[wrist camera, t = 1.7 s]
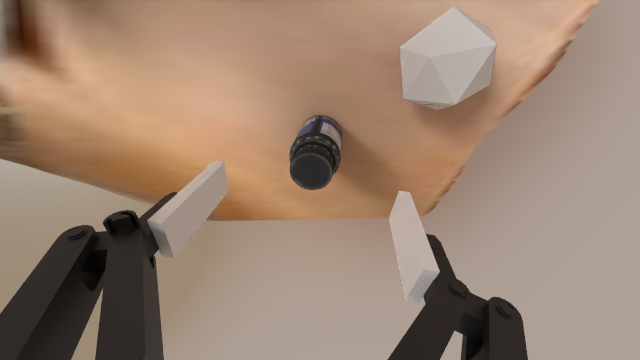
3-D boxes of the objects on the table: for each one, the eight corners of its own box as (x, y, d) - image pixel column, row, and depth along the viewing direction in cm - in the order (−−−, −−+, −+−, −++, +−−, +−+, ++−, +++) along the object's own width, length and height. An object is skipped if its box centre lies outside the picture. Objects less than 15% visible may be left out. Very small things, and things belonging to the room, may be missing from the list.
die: (378, 51, 27) (389, 120, 24) (441, -32, 20) (471, 51, 16) (429, 73, 31) (446, 136, 27) (500, 7, 23) (537, 84, 19)
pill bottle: (303, 153, 35) (286, 195, 26) (298, 115, 32) (277, 146, 23) (342, 153, 34) (340, 195, 25) (341, 113, 31) (338, 145, 22)
